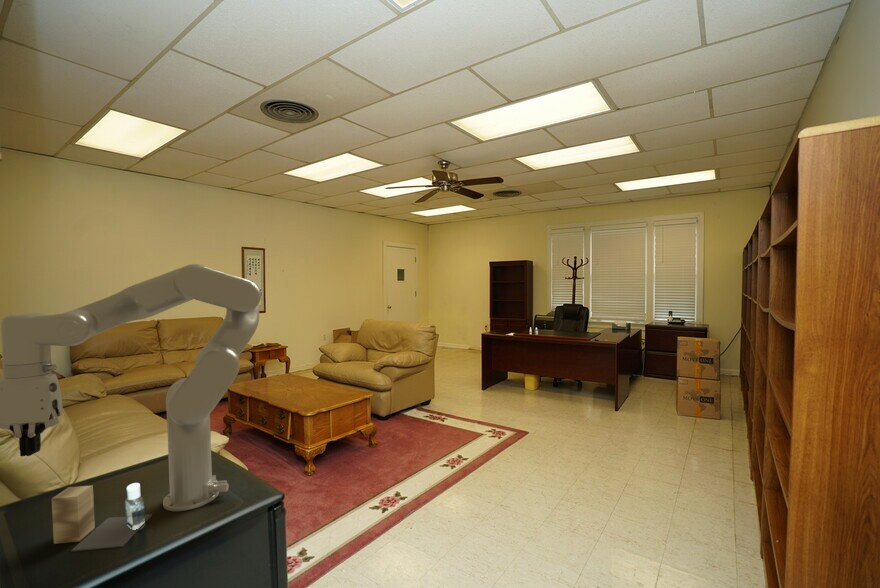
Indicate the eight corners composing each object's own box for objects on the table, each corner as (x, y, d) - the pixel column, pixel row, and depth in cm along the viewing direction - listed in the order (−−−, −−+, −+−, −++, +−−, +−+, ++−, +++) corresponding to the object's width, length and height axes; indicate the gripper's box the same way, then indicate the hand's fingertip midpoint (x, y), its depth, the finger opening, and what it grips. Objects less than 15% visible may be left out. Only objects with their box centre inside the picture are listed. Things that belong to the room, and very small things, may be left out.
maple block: (94, 528, 96) (92, 485, 96) (79, 541, 91) (77, 496, 91) (70, 530, 95) (68, 487, 95) (53, 544, 91) (51, 498, 90)
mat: (152, 515, 101) (152, 514, 101) (122, 546, 89) (122, 545, 89) (107, 519, 100) (107, 517, 100) (71, 551, 88) (71, 550, 88)
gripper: (78, 366, 96) (80, 445, 96) (3, 368, 93) (6, 448, 94) (53, 373, 88) (55, 458, 89) (-29, 375, 86) (-26, 463, 87)
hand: (30, 453), depth 91 cm, fingers closed
